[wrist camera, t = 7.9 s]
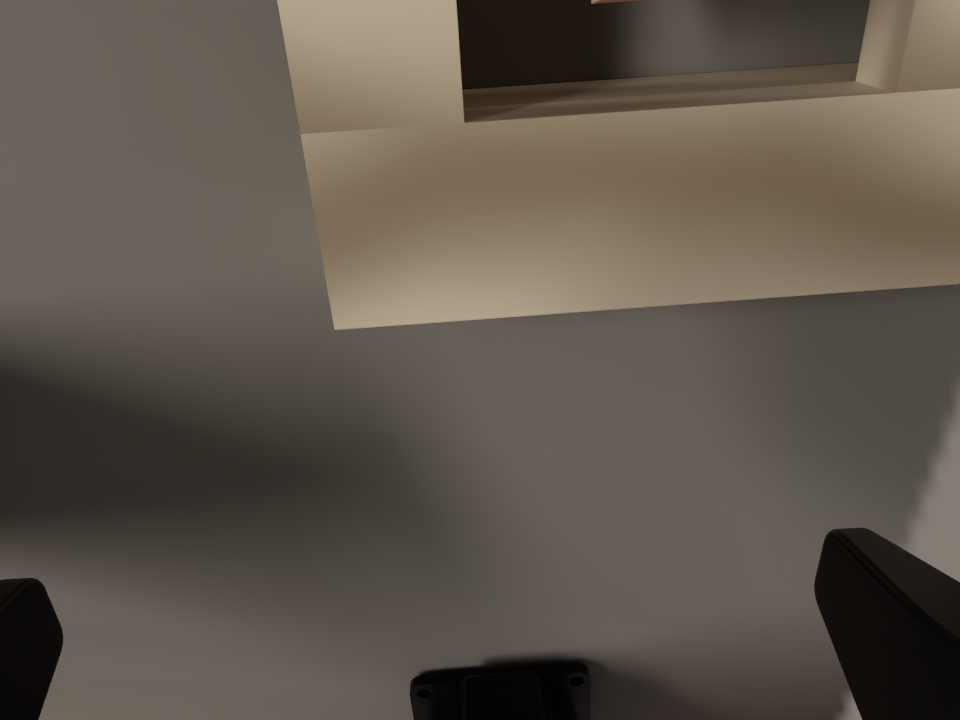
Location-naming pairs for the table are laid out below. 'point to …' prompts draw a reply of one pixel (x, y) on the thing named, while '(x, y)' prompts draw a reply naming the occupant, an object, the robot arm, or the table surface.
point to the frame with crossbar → (619, 172)
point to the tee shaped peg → (610, 1)
